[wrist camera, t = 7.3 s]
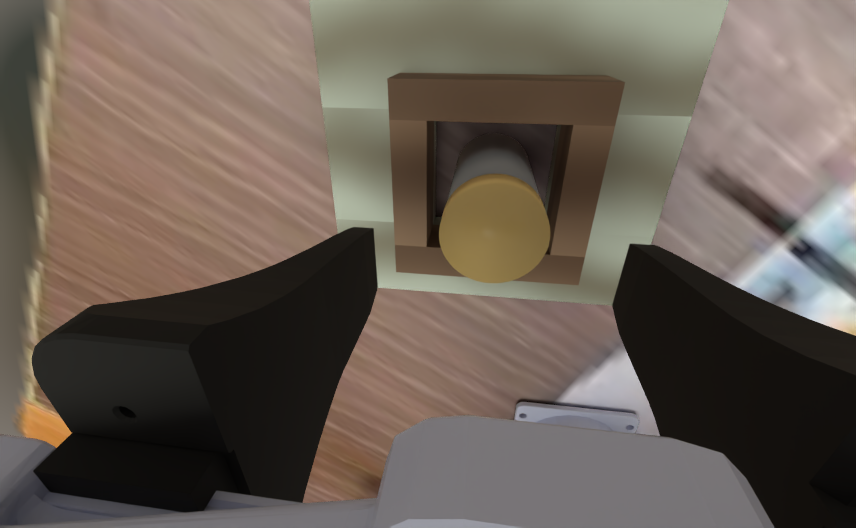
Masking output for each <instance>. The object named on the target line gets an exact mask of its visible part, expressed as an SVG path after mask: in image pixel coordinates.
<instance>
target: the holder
mask: <svg viewBox="0 0 856 528" xmlns="http://www.w3.org/2000/svg"><path fill="white" fill-rule="evenodd" d="M728 2H729V0H309V4H310V12H311V20H312V28H313V36H314V44H315V53H316V61H317V69H318V77H319V85H320V93H321V101H322V109H323V117H324V125H325V133H326V141H327V149H328V157H329V165H330V173H331V182H332V190H333V198H334V206H335V214H336V222H337V230H338V233H340V232H342V231H344V230H347V229H349V228H352V227H364V228H374V240H375V254H376V268H377V282H378V288H390V289H403V290H416V291H429V292H442V293H455V294H468V295H481V296H494V297H507V298H520V299H533V300H546V301H559V302H572V303H585V304H597V305H610V306H612V304H613V300H614V297H615V293H616V290H617V286H618V283H619V279H620V276H621V272H622V269H623V265H624V262H625V258H626V255H627V251H628V248H629V245H630V244H646V245H651V243H652V240H653V236H654V233H655V230H656V227H657V224H658V221H659V218H660V215H661V211H662V208H663V205H664V202H665V199H666V196H667V193H668V190H669V186H670V183H671V180H672V177H673V174H674V171H675V168H676V165H677V161H678V158H679V155H680V152H681V149H682V146H683V143H684V140H685V136H686V133H687V130H688V127H689V124H690V121H691V118H692V114H693V111H694V108H695V105H696V102H697V99H698V96H699V93H700V89H701V86H702V83H703V80H704V77H705V74H706V71H707V68H708V64H709V61H710V58H711V55H712V52H713V49H714V46H715V43H716V39H717V36H718V33H719V30H720V27H721V24H722V21H723V18H724V14H725V11H726V8H727V5H728ZM437 121H448V122H484V123H519V124H555V125H557V130H556V136H555V142H554V148H553V155H552V161H551V167H550V173H549V180H548V186H547V192H546V199H545V205H544V207H545V210H546V214H547V217H548V220H549V224H550V241H549V246H548V249H547V251H546V253H545V255H544V257H543V258H542V260H541V261H540V262H539V264H538V265H537V266H536V267H535V268H534V269H533V270H531V271H530V272H529V273H527V274H526V275H524V276H522V277H520V278H518V279H515V280H512V281H509V282H504V283H483V282H479V281H475V280H472V279H470V278H468V277H466V276H464V275H462V274H461V273H459V272H458V271H457V270H455V269H454V268H453V267H452V266H451V265H450V264H449V262H448V261H447V259H446V258H445V256H444V254H443V252H442V249H441V246H440V242H439V228H440V223H441V219H442V217H435V204H436V122H437Z"/></svg>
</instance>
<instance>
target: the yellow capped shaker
mask: <svg viewBox="0 0 856 528" xmlns="http://www.w3.org/2000/svg"><path fill="white" fill-rule="evenodd" d="M549 241H550V224H549V220H548V217H547V214H546V210H545V207H544V205H543V202H542V200H541V198H540V196H539V192H538V189H537V186H536V182H535V179H534V176H533V172H532V169H531V166H530V163H529V159H528V156H527V154H526V152H525V150H524V148H523V147H522V146H521V145H520V144H519V143H518V142H517V141H516V140H515V139H513V138H511V137H509V136H507V135H504V134H498V133H490V134H485V135H482V136H479V137H477V138H475V139H473V140H472V141H471V142H469V143H468V144H467V145H466V146H465V147H464V149H463V150H462V152H461V153H460V155H459V158H458V161H457V165H456V169H455V173H454V177H453V181H452V185H451V189H450V193H449V197H448V201H447V203H446V205H445V208H444V211H443V215H442V219H441V223H440V228H439V242H440V246H441V249H442V252H443V254H444V256H445V258H446V259H447V261H448V262H449V264H450V265H451V266H452V267H453V268H454V269H455V270H457V271H458V272H459V273H461V274H462V275H464V276H466V277H468V278H470V279H472V280H475V281H479V282H483V283H504V282H509V281H512V280H515V279H518V278H520V277H522V276H524V275H526V274H527V273H529V272H530V271H531V270H533V269H534V268H535V267H536V266H537V265H538V264H539V262H540V261H541V260H542V258H543V257H544V255H545V253H546V251H547V249H548V246H549Z"/></svg>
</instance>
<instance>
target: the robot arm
mask: <svg viewBox="0 0 856 528" xmlns="http://www.w3.org/2000/svg"><path fill="white" fill-rule="evenodd" d="M377 288H378V282H377V268H376V254H375V240H374V228H364V227H352V228H349V229H347V230H344V231H342V232H340V233H338V234H336V235H334V236H333V237H331V238H329V239H327V240H325V241H323V242H321V243H319V244H317V245H315V246H313V247H312V248H310V249H308V250H306V251H303V252H301V253H299V254H297V255H295V256H293V257H291V258H289V259H286V260H284V261H282V262H280V263H278V264H275V265H273V266H270V267H268V268H265V269H262V270H260V271H257V272H254V273H251V274H248V275H245V276H242V277H239V278H236V279H232V280H228V281H225V282H221V283H218V284H214V285H211V286H207V287H203V288H199V289H194V290H190V291H185V292H180V293H175V294H169V295H164V296H158V297H152V298H146V299H138V300H131V301H123V302H116V303H108V304H99V305H93V306H90V307H89V308H87V309H85V310H84V311H82V312H81V313H80V314H78V315H77V316H75V317H74V318H72V319H71V320H69V321H68V322H66V323H65V324H63V325H62V326H61V327H59V328H58V329H56V330H55V331H53V332H52V333H50V334H49V335H47V336H46V337H45V338H43V339H42V340H41V341H40V342H39V343H38V344H37V345H36V346H35V348H34V352H33V355H32V366H33V371H34V376H35V377H36V379H37V381H38V383H39V385H40V387H41V389H42V390H43V392H44V393H45V395H46V396H47V397H48V399H49V400H50V402H51V403H52V405H53V406H54V408H55V409H56V411H57V412H58V413H59V415H60V416H61V418H62V419H63V421H64V422H65V424H66V425H67V427H68V428H69V430H70V431H71V432H72V434H71V435H70V436H69V437H68V438H67V439H66V440H65V441H64V442H63V443H62V444H60V445H59V446H58V447H57V448H55V447H54V446H52V445H51V444H49V443H47V442H45V441H42V440H38V439H33V438H26V437H18V436H11V435H4V434H0V528H856V336H855V335H852V334H849V333H846V332H843V331H840V330H837V329H834V328H831V327H829V326H826V325H823V324H820V323H818V322H815V321H812V320H810V319H807V318H805V317H803V316H800V315H798V314H795V313H793V312H790V311H788V310H785V309H783V308H780V307H778V306H776V305H774V304H771V303H769V302H767V301H765V300H762V299H760V298H758V297H756V296H754V295H752V294H750V293H748V292H746V291H744V290H742V289H740V288H737V287H736V286H734V285H732V284H730V283H728V282H726V281H724V280H722V279H720V278H718V277H716V276H714V275H712V274H711V273H709V272H707V271H705V270H703V269H701V268H699V267H698V266H696V265H694V264H692V263H690V262H688V261H687V260H685V259H683V258H681V257H679V256H677V255H675V254H673V253H671V252H669V251H667V250H665V249H663V248H660V247H658V246H655V245H646V244H630V245H629V248H628V251H627V255H626V258H625V262H624V265H623V269H622V272H621V276H620V279H619V283H618V286H617V290H616V293H615V297H614V300H613V304H612V306H613V310H614V315H615V319H616V323H617V327H618V330H619V334H620V337H621V339H622V341H623V344H624V346H625V349H626V351H627V353H628V356H629V358H630V360H631V363H632V365H633V367H634V369H635V372H636V374H637V376H638V379H639V381H640V383H641V385H642V388H643V390H644V392H645V395H646V397H647V399H648V401H649V404H650V407H651V409H652V412H653V415H654V417H655V420H656V424H657V427H658V430H659V434H660V436H652V435H643V434H635V432H636V430H637V427H638V425H639V418H638V416H637V415H636V414H633V413H625V412H616V411H606V410H597V409H587V408H578V407H569V406H559V405H550V404H540V403H531V402H520V403H518V404H517V405H516V410H515V416H514V420H509V419H500V418H491V417H482V416H473V415H463V416H448V417H433V418H428V419H425V420H423V421H421V422H419V423H418V424H416V425H414V426H412V427H411V428H409V429H407V430H405V431H403V432H402V433H400V434H398V435H396V436H395V438H394V441H393V443H392V446H391V449H390V452H389V454H388V457H387V460H386V464H385V468H384V472H383V476H382V480H381V485H380V489H379V493H378V497H377V498H370V499H357V500H344V501H330V502H317V503H302V502H303V498H304V494H305V490H306V486H307V483H308V479H309V476H310V472H311V469H312V465H313V462H314V458H315V455H316V451H317V448H318V444H319V441H320V438H321V435H322V431H323V428H324V425H325V422H326V419H327V415H328V412H329V409H330V406H331V403H332V400H333V397H334V394H335V391H336V388H337V385H338V383H339V380H340V378H341V375H342V373H343V370H344V368H345V366H346V364H347V362H348V360H349V358H350V355H351V353H352V351H353V349H354V347H355V345H356V343H357V341H358V338H359V336H360V334H361V332H362V330H363V328H364V325H365V323H366V321H367V319H368V317H369V314H370V312H371V309H372V305H373V302H374V299H375V295H376V291H377ZM521 413H524V414H521Z"/></svg>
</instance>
